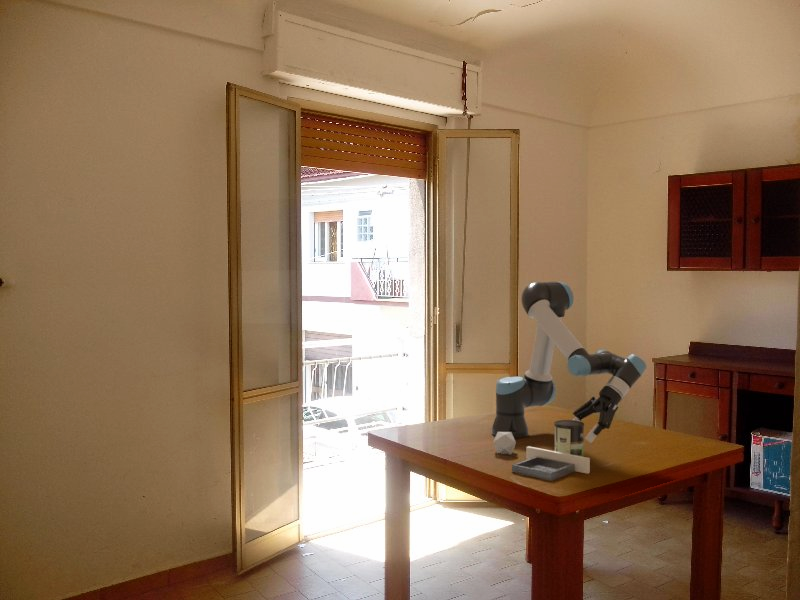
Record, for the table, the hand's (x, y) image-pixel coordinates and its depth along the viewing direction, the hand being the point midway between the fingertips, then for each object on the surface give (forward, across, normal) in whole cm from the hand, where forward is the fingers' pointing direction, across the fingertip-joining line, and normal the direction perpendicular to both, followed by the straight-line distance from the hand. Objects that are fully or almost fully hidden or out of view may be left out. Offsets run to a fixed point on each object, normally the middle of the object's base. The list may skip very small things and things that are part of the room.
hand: (577, 436), depth 251 cm
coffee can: (+8, +1, -5) cm, 10 cm away
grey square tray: (+19, -7, +6) cm, 21 cm away
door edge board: (+13, -3, 0) cm, 13 cm away
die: (+20, +20, +7) cm, 29 cm away
